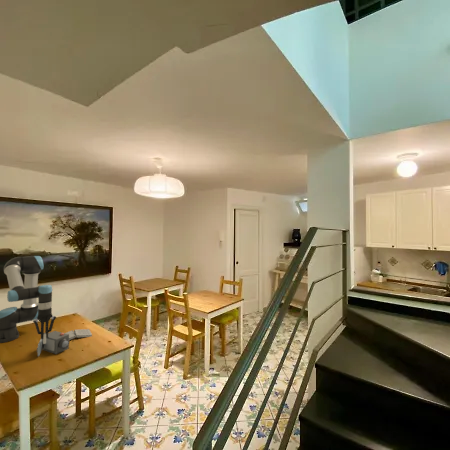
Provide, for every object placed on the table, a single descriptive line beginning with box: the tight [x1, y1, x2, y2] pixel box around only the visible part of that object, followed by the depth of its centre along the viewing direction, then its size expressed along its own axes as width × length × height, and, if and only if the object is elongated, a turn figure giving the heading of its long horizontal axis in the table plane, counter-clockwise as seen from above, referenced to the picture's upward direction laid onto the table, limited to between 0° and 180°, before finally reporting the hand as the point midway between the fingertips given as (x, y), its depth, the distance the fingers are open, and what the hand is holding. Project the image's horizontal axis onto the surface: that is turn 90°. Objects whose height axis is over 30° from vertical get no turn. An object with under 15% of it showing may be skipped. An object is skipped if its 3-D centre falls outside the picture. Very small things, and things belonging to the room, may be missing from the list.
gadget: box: [64, 328, 93, 341], centre depth 199 cm, size 23×15×4 cm, turn 127°
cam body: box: [42, 330, 70, 355], centre depth 177 cm, size 19×9×11 cm, turn 66°
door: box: [36, 338, 43, 357], centre depth 170 cm, size 13×2×8 cm, turn 28°
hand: (44, 343), depth 169 cm, fingers closed
